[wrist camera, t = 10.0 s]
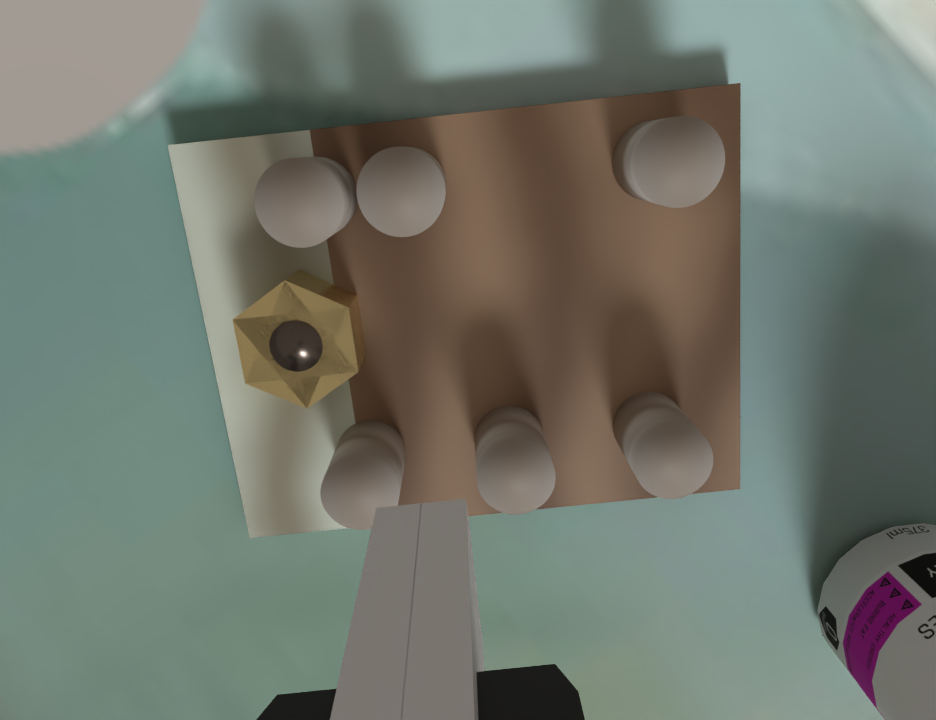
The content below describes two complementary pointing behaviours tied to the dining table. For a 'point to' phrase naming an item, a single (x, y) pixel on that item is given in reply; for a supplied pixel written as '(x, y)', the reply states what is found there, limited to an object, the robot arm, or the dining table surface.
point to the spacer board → (486, 305)
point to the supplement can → (887, 619)
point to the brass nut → (301, 339)
